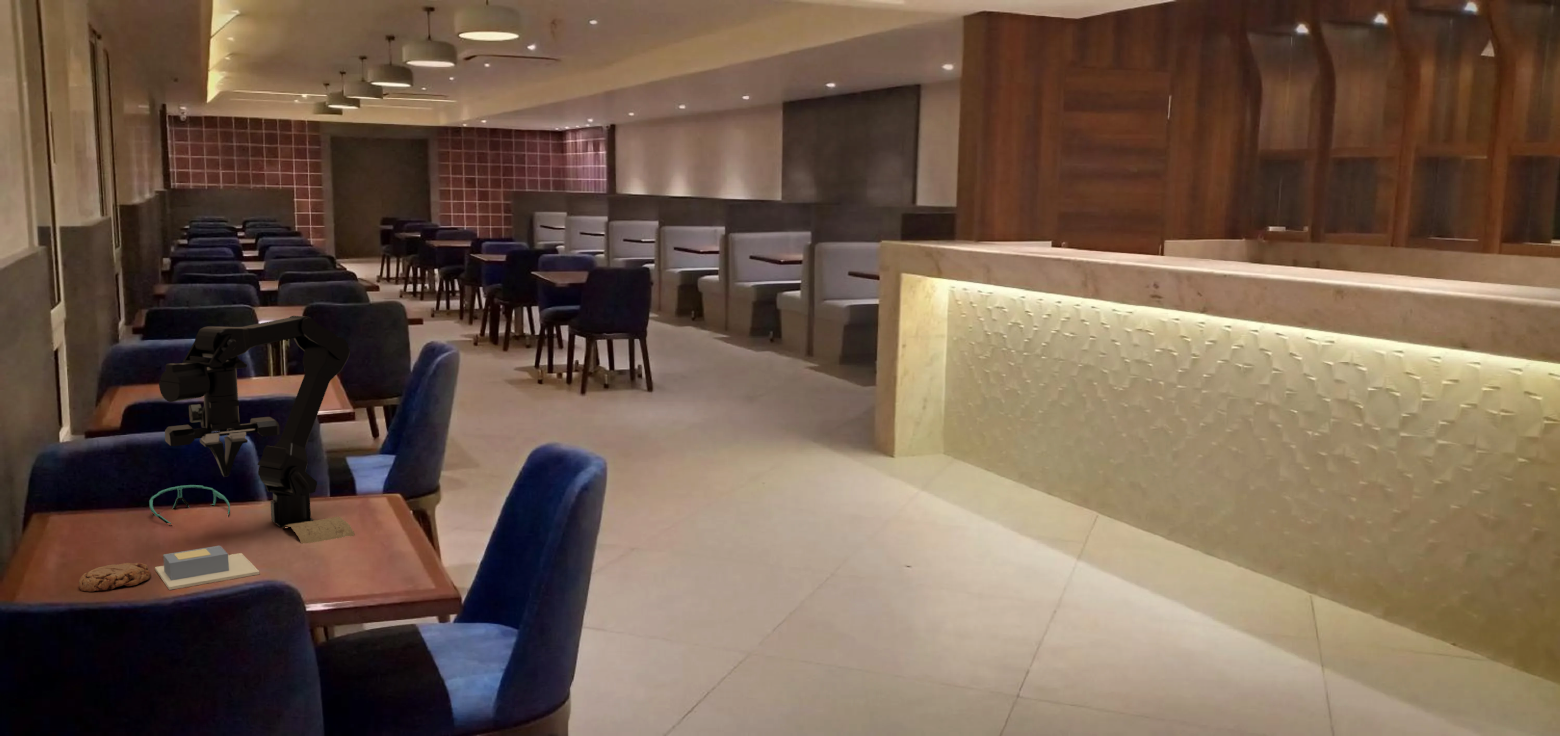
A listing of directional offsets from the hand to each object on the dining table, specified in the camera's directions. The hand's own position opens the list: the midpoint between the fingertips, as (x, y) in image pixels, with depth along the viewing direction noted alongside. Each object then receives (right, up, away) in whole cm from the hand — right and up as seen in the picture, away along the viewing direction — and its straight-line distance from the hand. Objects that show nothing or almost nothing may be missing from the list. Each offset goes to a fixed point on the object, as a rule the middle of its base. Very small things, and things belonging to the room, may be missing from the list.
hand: (225, 475), depth 216 cm
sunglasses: (-17, -10, +19) cm, 27 cm away
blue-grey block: (+7, -13, -15) cm, 21 cm away
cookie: (-8, -16, -23) cm, 29 cm away
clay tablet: (+14, -13, +8) cm, 20 cm away
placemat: (+5, -15, -17) cm, 23 cm away
